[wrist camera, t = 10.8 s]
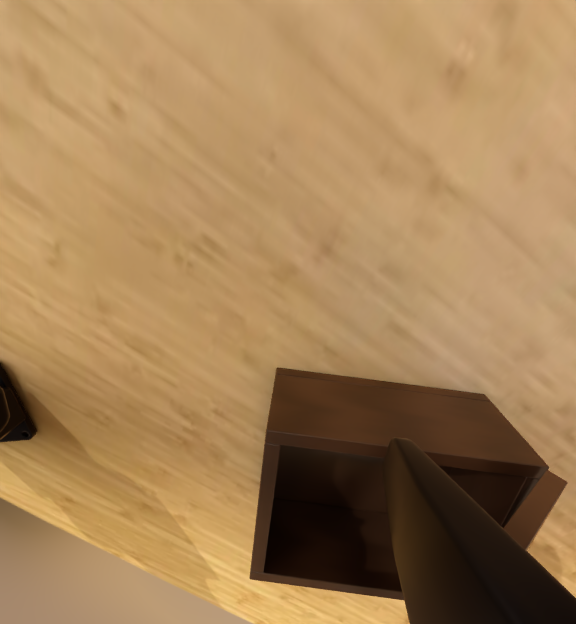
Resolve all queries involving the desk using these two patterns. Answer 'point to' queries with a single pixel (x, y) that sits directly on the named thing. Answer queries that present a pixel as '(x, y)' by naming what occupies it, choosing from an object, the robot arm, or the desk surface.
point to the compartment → (369, 474)
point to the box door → (535, 509)
